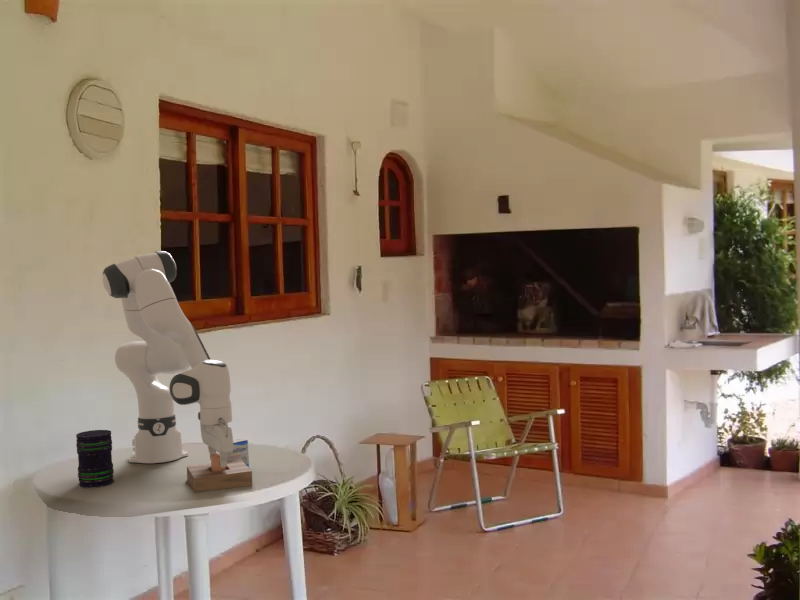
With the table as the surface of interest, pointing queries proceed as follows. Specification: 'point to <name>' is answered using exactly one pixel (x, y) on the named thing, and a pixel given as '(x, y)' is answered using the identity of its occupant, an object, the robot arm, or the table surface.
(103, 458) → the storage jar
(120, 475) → the table surface
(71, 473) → the table surface
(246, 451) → the medicine box
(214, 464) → the peg
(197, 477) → the socket block
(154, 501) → the table surface
